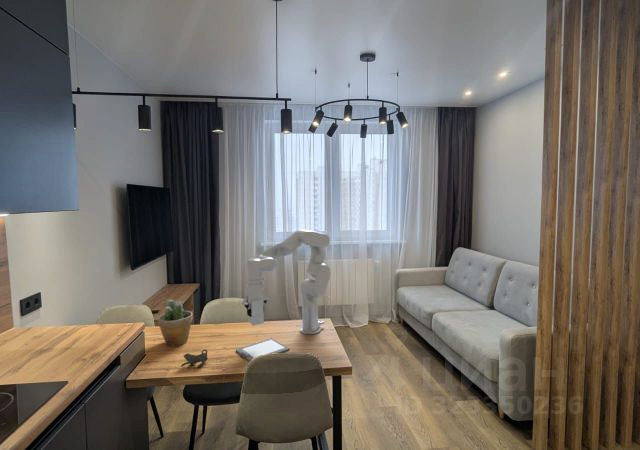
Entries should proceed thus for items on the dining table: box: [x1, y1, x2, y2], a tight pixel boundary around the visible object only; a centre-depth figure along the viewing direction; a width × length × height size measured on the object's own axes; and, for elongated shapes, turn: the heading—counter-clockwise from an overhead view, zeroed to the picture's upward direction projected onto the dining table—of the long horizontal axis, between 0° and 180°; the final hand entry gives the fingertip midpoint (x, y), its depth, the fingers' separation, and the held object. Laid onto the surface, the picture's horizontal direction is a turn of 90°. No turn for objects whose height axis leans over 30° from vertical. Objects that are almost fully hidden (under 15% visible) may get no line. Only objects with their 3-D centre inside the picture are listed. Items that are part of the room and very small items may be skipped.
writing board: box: [235, 337, 290, 362], centre depth 180 cm, size 22×18×2 cm
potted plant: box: [157, 299, 193, 347], centre depth 192 cm, size 18×19×25 cm
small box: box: [247, 299, 265, 326], centre depth 183 cm, size 8×6×13 cm
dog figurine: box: [180, 349, 209, 368], centre depth 165 cm, size 12×6×7 cm, turn 101°
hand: (255, 313), depth 183 cm, fingers closed on small box, 6 cm apart
